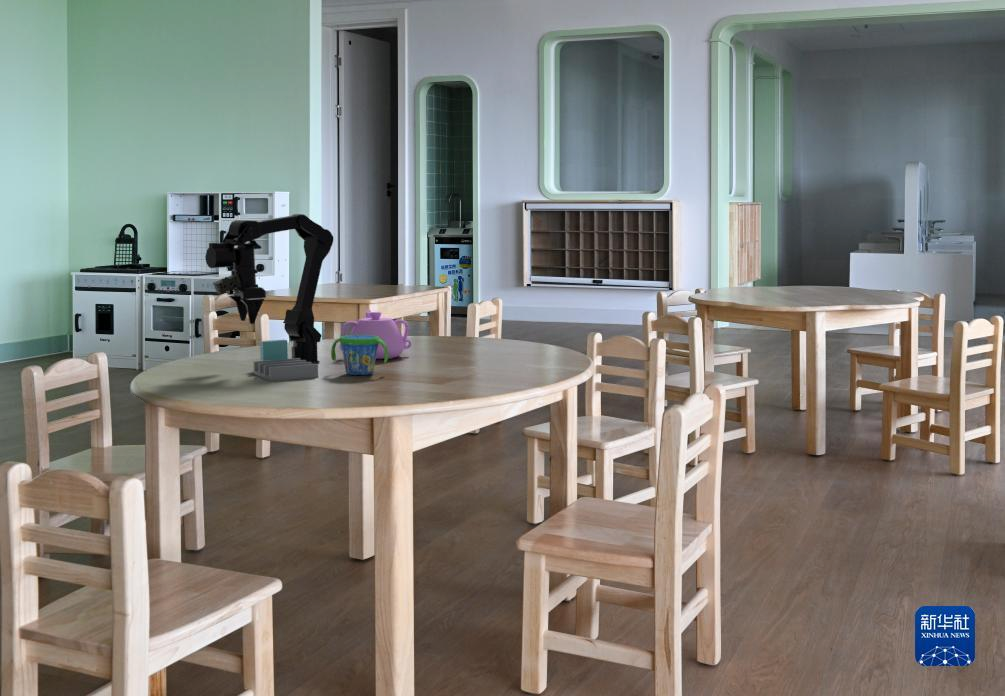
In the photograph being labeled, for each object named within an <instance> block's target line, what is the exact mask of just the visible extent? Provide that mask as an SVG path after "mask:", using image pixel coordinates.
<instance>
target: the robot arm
mask: <svg viewBox="0 0 1005 696" xmlns="http://www.w3.org/2000/svg"><path fill="white" fill-rule="evenodd" d="M290 230H295V232H296V234H297V235H298V237H300V238H301V239H302V240H303V250H304V255H305V260H304V266H303V270H302V275H301V277H300V278H301V279H300V283H299V286H298V292H297V296H296V300H295V303H294V306H293V307H292V308H291V309H286V311H285V317H284V319H283V322H282V323H283V324H284V326H283V327H284V331H285V333H286V334H287V335H288V338H289V340H290V341H291V342H293V343H292V344H293V346H291V359H293V358H301V360H306V362H312V364H319V363H321V362H320V360H319V359H318V343H320V342H321V339H322V337H323V336H322V334H321V333H320V332H319V331H318V330H317V329H316V328H315V315H314V312H313V305H314V301H315V298H316V297H315V296H316V292H317V287H318V283H319V278H320V274H321V269H322V266H323V263H324V262H323V261H324V260H325V258H326V257H327V256H328V255H329V253H330V251H331V249H332V246H333V243H334V235H333V234H332V232H331V231H330V230H329V229H327V228H326V229H325V228H324V227H323V226H321V225H320V224H318V223H317V222H315V221H313V220H312V219H310V218H309V217H308V216H307V215H305V214H301V213H298V214H297V213H296V214H295V213H294V214H292V215H287V216H281V217H275V218H268V219H264V220H245V219H244V220H243V219H241V220H238V219H237V220H233V221H231V222H230V224H229V227H228V231H227V233H226V234H225V236H224V238H223V239H222V241H221V242H220V243H219V242H208V248H207V250H206V253H205V257H204V258H205V263H206V265H207V266H208V268H210V269H218V268H219V269H220V268H231V267H232V266H233V269H232V270H231V271H230V275H229V276H225V277H224V278H223V277H222V278H221V279H218V280H217V281H214V282H212V283H213V288H214V289H215V291H216V293H217V294H218V295H220V296H221V295H223V294H226V295H227V296H228V298H229V299H231V300H233V302H235V306H236V309H237V312H238V315H239V319H240V321H243V322H244V321H246V318H247V317H248V323H249V324H251V325H253V324H255V322H256V320H257V318H258V315H259V313H260V310H261V307H262V304H263V303H264V301H265V298H267V293H266V290H265V289H264V287H261V286H259V284H257V280H256V277H257V275H256V274H258V269H256V263H255V262H256V259H255V258H256V257H255V250H260V249H262V246H261V245H260V244H259V243H257V240H258V239H260V238H261V237H263V236H265V235H268V234H272V233H279V232H285V231H290ZM247 242H248V243H247ZM235 246H236V247H235Z"/></svg>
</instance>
